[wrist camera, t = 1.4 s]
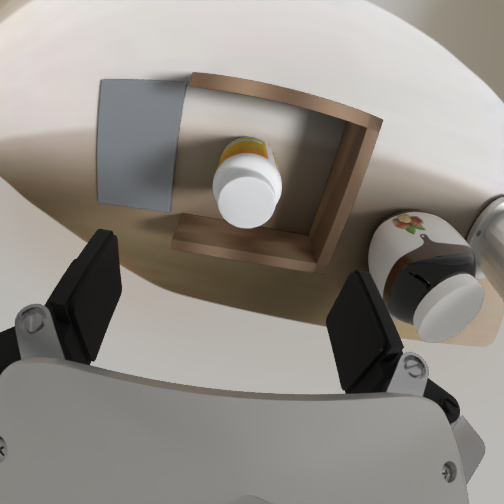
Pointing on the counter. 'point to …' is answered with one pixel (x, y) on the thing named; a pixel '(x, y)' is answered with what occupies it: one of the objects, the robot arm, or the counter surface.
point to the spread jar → (425, 274)
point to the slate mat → (138, 142)
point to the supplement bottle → (247, 183)
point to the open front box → (331, 206)
